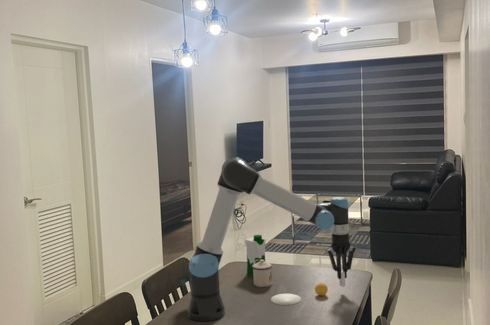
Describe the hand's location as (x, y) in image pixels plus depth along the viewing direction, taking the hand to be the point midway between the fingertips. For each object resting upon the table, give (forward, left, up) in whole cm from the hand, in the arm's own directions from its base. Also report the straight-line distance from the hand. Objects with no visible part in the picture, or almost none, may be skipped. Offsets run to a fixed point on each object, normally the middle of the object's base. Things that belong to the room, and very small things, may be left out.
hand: (342, 285), depth 221 cm
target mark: (-26, 0, -3) cm, 26 cm away
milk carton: (-31, +38, -4) cm, 49 cm away
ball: (-10, 0, -1) cm, 10 cm away
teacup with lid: (-31, +24, -4) cm, 39 cm away
